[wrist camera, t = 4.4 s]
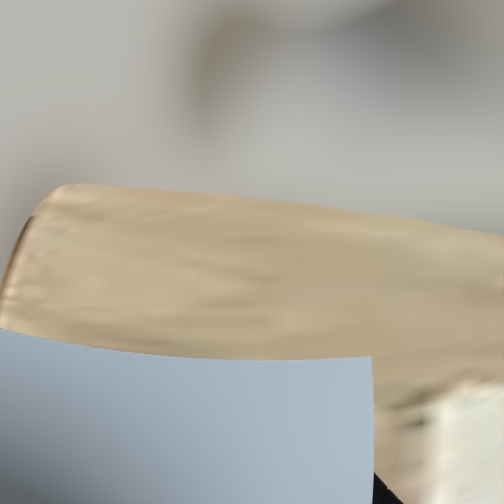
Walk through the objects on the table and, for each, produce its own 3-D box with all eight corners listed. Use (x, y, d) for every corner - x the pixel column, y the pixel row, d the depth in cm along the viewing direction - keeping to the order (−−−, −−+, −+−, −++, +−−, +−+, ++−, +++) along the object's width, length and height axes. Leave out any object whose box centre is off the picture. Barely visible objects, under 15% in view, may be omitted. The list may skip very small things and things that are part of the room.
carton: (289, 486, 11) (346, 652, 1) (185, 481, 12) (2, 573, 1) (291, 401, 14) (375, 351, 3) (189, 398, 14) (-4, 324, 3)
